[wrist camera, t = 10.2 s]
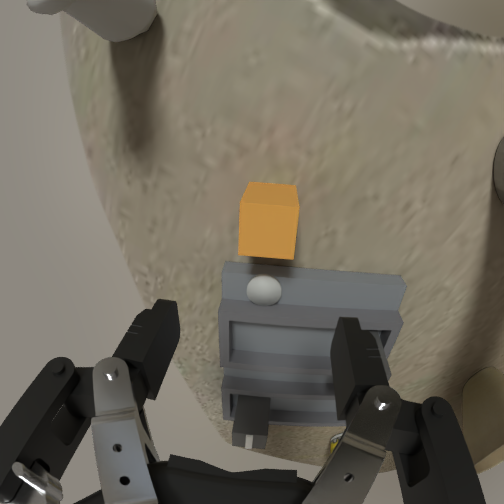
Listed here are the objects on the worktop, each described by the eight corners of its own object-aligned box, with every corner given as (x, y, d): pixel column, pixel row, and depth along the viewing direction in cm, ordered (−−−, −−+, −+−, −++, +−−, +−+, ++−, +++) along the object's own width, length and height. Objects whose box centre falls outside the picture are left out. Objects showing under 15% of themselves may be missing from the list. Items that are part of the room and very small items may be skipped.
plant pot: (521, 338, 30) (560, 407, 16) (496, 390, 37) (521, 451, 23) (454, 366, 33) (487, 452, 19) (435, 414, 40) (454, 485, 26)
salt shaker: (137, 55, 20) (36, 35, 9) (100, 31, 19) (1, 12, 7) (178, 6, 18) (100, -51, 6) (137, -15, 17) (53, -62, 5)
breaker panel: (401, 273, 27) (414, 296, 24) (341, 414, 40) (344, 435, 36) (225, 259, 29) (217, 281, 25) (227, 408, 41) (223, 429, 37)
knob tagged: (271, 390, 34) (267, 438, 28) (268, 406, 36) (264, 450, 30) (239, 387, 34) (231, 434, 28) (239, 403, 36) (231, 447, 30)
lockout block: (295, 185, 25) (299, 207, 19) (291, 228, 27) (293, 259, 21) (249, 181, 25) (239, 202, 20) (247, 224, 27) (238, 255, 22)
